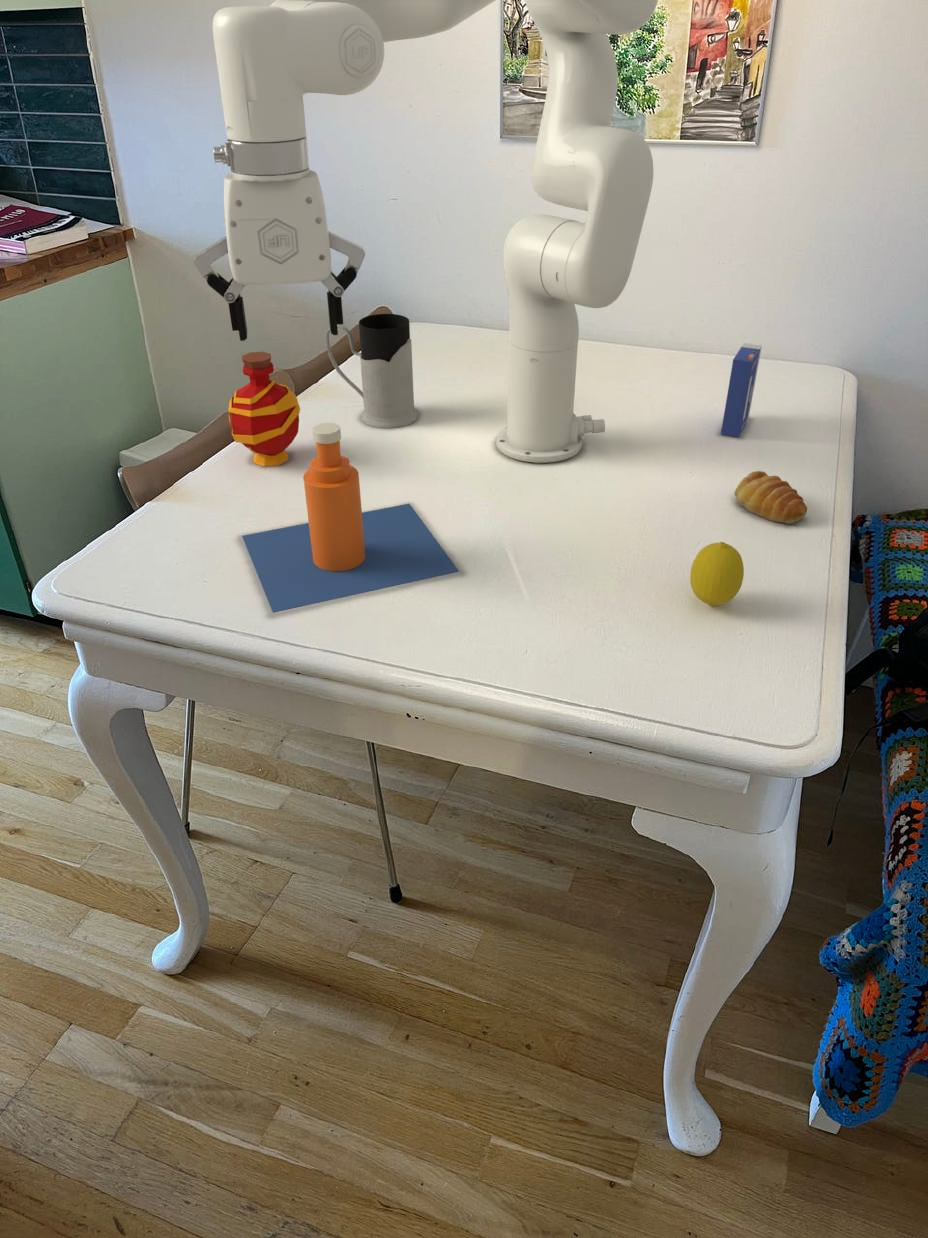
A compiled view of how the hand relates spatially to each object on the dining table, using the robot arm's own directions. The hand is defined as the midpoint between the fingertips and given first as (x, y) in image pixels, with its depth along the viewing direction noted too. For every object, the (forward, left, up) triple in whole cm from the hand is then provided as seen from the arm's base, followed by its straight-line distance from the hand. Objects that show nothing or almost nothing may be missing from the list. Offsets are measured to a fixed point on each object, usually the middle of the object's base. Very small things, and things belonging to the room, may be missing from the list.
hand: (289, 333), depth 99 cm
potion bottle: (+5, -25, -26) cm, 36 cm away
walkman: (-65, -23, -26) cm, 74 cm away
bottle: (-3, +5, -25) cm, 26 cm away
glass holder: (-11, -38, -26) cm, 47 cm away
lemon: (-43, +22, -26) cm, 55 cm away
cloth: (-4, +4, -26) cm, 26 cm away
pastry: (-59, +2, -26) cm, 64 cm away
